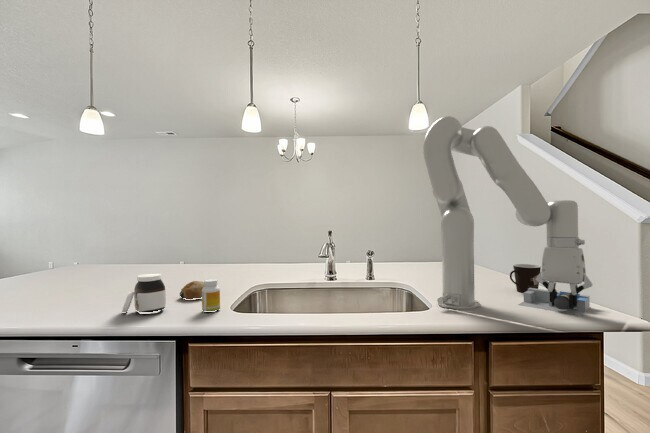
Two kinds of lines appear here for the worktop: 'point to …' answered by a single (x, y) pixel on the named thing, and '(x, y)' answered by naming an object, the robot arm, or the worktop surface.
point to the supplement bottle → (210, 295)
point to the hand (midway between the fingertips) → (563, 305)
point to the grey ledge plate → (542, 301)
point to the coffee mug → (525, 276)
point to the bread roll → (192, 290)
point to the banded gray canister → (562, 301)
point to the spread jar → (147, 294)
